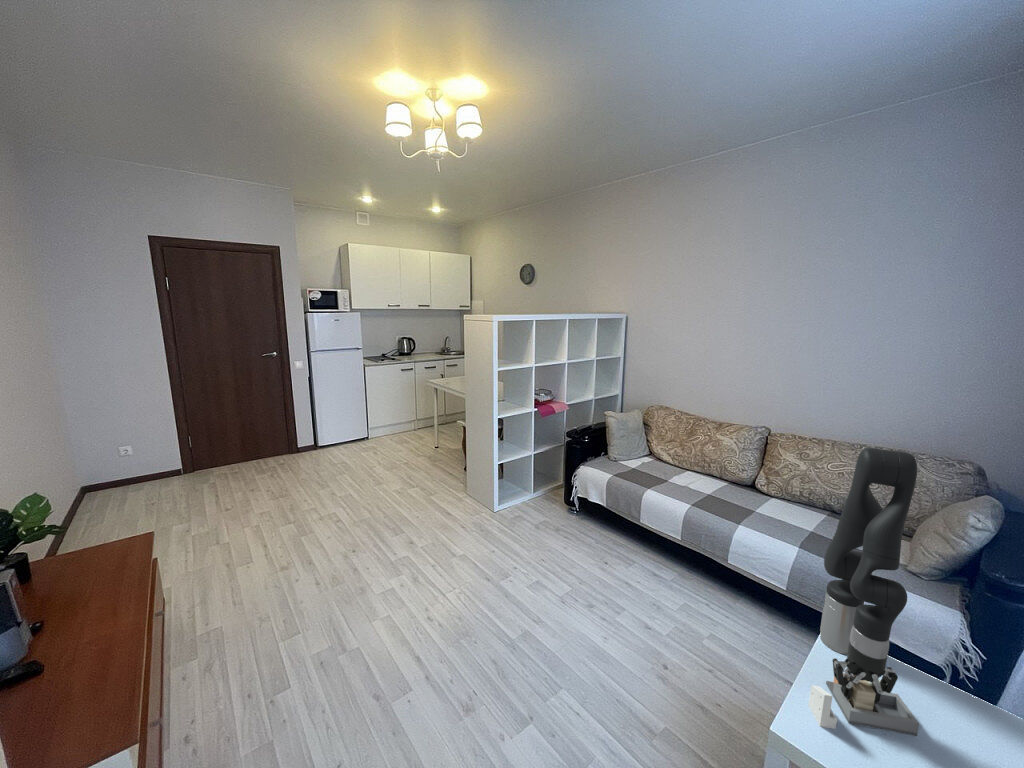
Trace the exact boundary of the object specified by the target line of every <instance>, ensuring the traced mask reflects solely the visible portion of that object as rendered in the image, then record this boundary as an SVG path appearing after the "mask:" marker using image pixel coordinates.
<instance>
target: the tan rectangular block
mask: <svg viewBox="0 0 1024 768" xmlns="http://www.w3.org/2000/svg"><path fill="white" fill-rule="evenodd" d="M851 688H852V691H851V697H850V699H848V701H849V703H850V704H851V706H852V707H853V708H856V709H861V710H867V711H872V712H873V706H874V700H875V695H876V693H875V692H874V690H873V689H872V687H871V686H870V684H869V683H868V681H866V680H860V681H859V682H858V683H857V684H854V685H853V686H852V687H851Z"/></svg>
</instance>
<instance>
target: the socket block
mask: <svg viewBox="0 0 1024 768" xmlns="http://www.w3.org/2000/svg"><path fill="white" fill-rule="evenodd" d="M844 674H845V672H843V675H844ZM852 675H853V674H852ZM853 676H854V675H853ZM878 679H879V678H878ZM881 679H882V678H881ZM881 679H879V682H880V681H881ZM848 680H849V679H848ZM868 683H869V684H870V686H873V685H872V683H871V682H868ZM825 685H826V686H827V688H828V690H829V691H830V694H831V695H832V696H833V697H832V698H833V699H834V700H835V702H836V703H837V706H838V707H839V709H840V710H841V713H842V714H843V716H844V718H845V720H846V722H847V723H848V724H851V725H857V726H861V727H866V728H871V729H878V730H883V731H888V732H893V733H898V734H902V735H903V734H904V735H908V736H913V737H917V736H918V731H919V727H920V722H919V721H918V719H917V718H916V717H915V715H914V714H913V713H912V711H911V710H910V709H909V708H908V706H907V705H906V703H905V702H904V701H903V699H902V698H901V697H900V695H899V693H892V692H891V693H887V692H883V693H882V694H881V696H880V701H879V702H877V704H874V706H873V712H872V711H867V710H861V709H856V708H853V707H852V706H851V704H850V703H849V701H848V699H846V697H845V696H844V695H843V693H842V691H841V686H842V685H840V684H839V683H838V681H837V679H836V678H835V676H834V675H833V681H831V680H830V681H828V680H826V682H825Z"/></svg>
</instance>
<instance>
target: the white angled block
mask: <svg viewBox="0 0 1024 768" xmlns="http://www.w3.org/2000/svg"><path fill="white" fill-rule="evenodd" d="M809 692H810V693H809V700H808V707H809V709H810V711H811V713H812V715H813V716H814V719H815V720H816V722H817V724H818V726H819V727H821V728H827V729H833V730H836V728H837V724H838V723H837V722H838V718H837V717H836V714H835V713H834V711H833V710H832V708H831V707H832V702H833V698H834V697H833V695H832V694H831V693H829V692H827V691H826V690H825V689H823V688H822V687H820V686H818V685H813V684H812V685H811V686H810V691H809Z"/></svg>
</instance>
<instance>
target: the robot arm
mask: <svg viewBox="0 0 1024 768" xmlns="http://www.w3.org/2000/svg"><path fill="white" fill-rule="evenodd" d="M917 477H918V463H917V459H916V458H915V456H914V455H913V454H911V453H909V452H905V451H904V452H903V451H896V450H889V449H883V448H882V449H881V448H876V447H875V448H873V447H867V448H866V447H865V448H863V449H862V450H860V452H859V454H858V456H857V459H856V463H855V468H854V473H853V477H852V481H851V485H850V489H849V492H848V495H847V498H846V499H845V502H844V503H845V504H844V506H843V508H842V510H841V514H840V516H839V521H838V523H837V526H836V527H837V528H836V531H835V533H834V535H833V537H832V540H831V541H830V543H829V545H828V547H827V549H826V551H825V554H824V560H823V565H824V566H823V567H824V569H825V571H826V573H827V574H828V575H830V576H831V577H833V578H837V579H834V580H833V579H832V580H831V581H829V582H828V583H827V585H826V591H825V599H824V605H823V608H822V613H821V622H820V628H819V631H820V632H819V633H820V634H819V639H820V640H821V641H822V643H823V644H824V645H825V646H827V647H828V648H829V649H831V650H833V651H835V652H837V653H839V654H843V655H847V658H845V660H844V661H842V660H841V661H840V660H838V658H832V668H833V669H832V670H833V671H832V672H833V677H834V676H835V678H836V679H837V681H838V683H839V684H840V685H842V686H841V691H842V693H843V695H844V696H845V697H846V699H850V697H851V691H852V688H851V687H852V686H853V685H854V684H857V683H858V682H859V681H860V680H866V681H868V682H871V683H872V685H873V686H871V687H872V689H873V690H874V692H875V693H876V695H875V700H874V704H877V702H879V701H880V696H881V694H882V693H883V692H887V693H892V691H893V688H894V686H895V685H896V682H897V680H898V678H899V676H898V674H897V673H896V672H895V670H893V668H892V667H890V666H887V667H886V665H887V662H888V661H887V660H888V656H889V650H890V638H891V631H892V626H893V624H894V622H895V621H896V619H897V618H898V617H899V616H900V614H901V612H903V610H904V609H905V607H906V605H907V603H908V593H907V591H906V589H905V587H904V586H903V585H902V584H901V583H900V582H898V581H895V580H893V579H889V578H885V577H881V576H877V575H874V574H872V573H874V572H875V571H878V570H882V571H883V570H884V571H896V570H898V569H899V567H900V559H901V549H902V538H903V532H904V528H905V524H906V521H907V517H908V514H909V510H910V506H911V503H912V499H913V495H914V491H915V487H916V482H917ZM872 484H875V485H876V484H877V485H881V486H887V487H893V488H894V490H893V494H892V496H891V498H890V500H889V502H888V503H887V504H886V506H885V507H884V508H883V507H882V506H881V504H880V503H879V501H878V500H877V499H876V497H875V496H874V494H873V492H872V490H871V487H870V486H871V485H872ZM861 547H862V552H861V551H857V550H856V549H859V548H861ZM865 603H867V604H865ZM820 635H821V636H820ZM843 673H845V674H844V675H843ZM853 675H854V676H853ZM879 678H881V681H880V682H879ZM848 679H849V680H848Z"/></svg>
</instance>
